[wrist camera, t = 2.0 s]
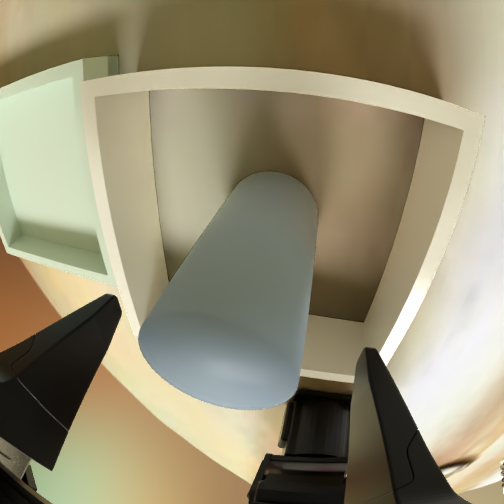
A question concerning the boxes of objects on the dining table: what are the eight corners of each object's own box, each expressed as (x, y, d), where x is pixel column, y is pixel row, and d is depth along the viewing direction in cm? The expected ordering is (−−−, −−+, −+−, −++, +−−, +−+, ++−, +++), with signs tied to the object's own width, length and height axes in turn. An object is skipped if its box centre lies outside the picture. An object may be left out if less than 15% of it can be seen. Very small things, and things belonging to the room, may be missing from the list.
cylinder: (324, 178, 15) (314, 334, 7) (311, 259, 18) (286, 420, 10) (228, 166, 15) (120, 292, 7) (228, 245, 18) (156, 387, 10)
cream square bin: (442, 100, 11) (485, 116, 7) (371, 331, 20) (373, 385, 16) (136, 72, 13) (80, 81, 10) (161, 293, 22) (134, 336, 19)
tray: (118, 55, 13) (82, 58, 10) (141, 260, 21) (120, 287, 18) (-4, 93, 15) (-31, 103, 13) (27, 235, 23) (7, 252, 21)
